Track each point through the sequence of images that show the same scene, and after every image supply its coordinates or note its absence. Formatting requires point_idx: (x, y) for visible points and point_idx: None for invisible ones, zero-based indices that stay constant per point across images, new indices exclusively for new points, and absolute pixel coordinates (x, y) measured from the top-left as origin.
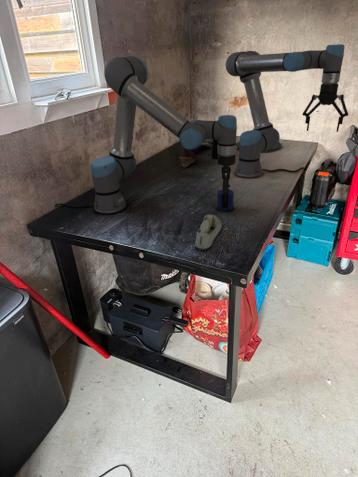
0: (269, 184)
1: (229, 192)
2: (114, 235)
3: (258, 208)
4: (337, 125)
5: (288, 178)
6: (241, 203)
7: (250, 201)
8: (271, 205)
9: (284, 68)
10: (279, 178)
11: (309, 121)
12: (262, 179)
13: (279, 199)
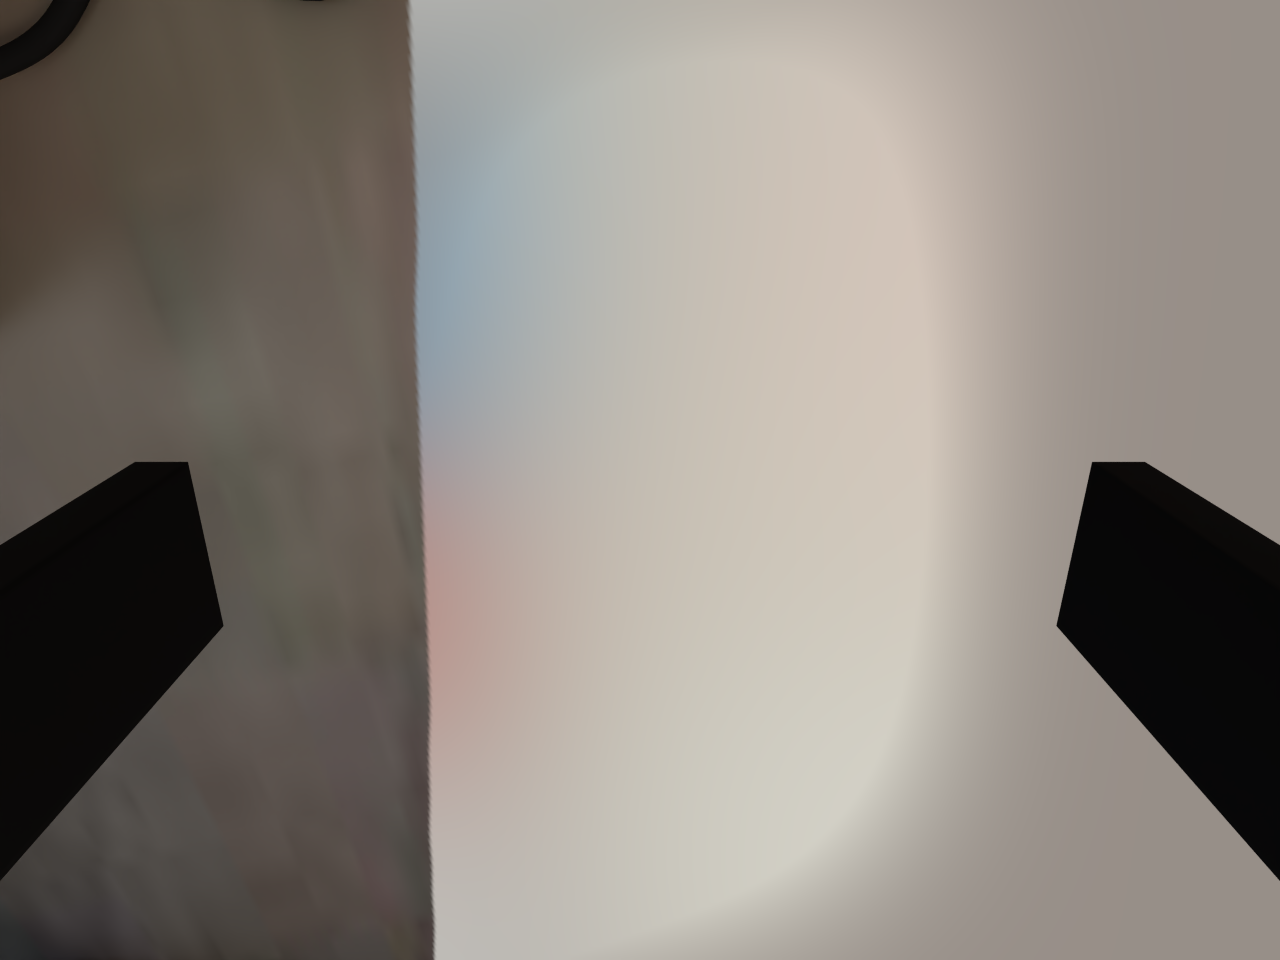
0: (198, 494)
1: None
2: None
3: (297, 950)
4: (1186, 634)
5: (338, 251)
6: (149, 911)
7: (196, 870)
8: (368, 893)
9: None
10: (236, 278)
11: (12, 820)
12: (64, 362)
13: (395, 792)
